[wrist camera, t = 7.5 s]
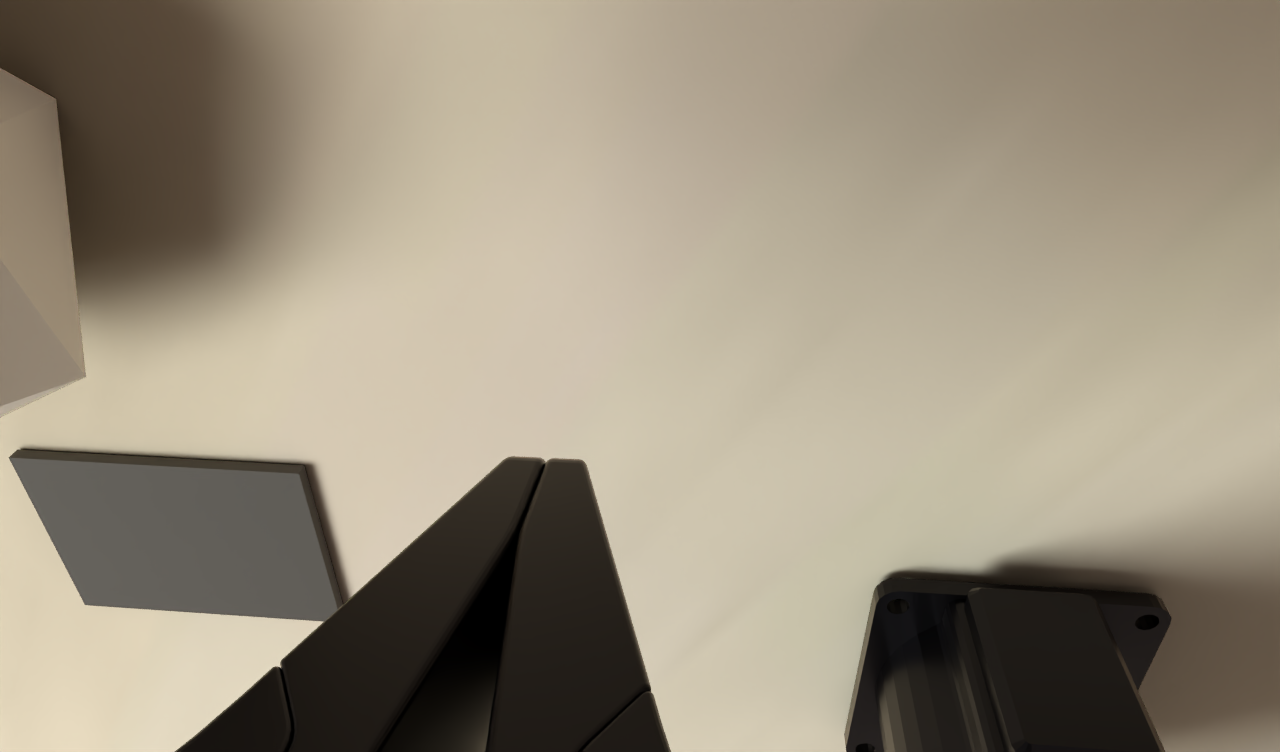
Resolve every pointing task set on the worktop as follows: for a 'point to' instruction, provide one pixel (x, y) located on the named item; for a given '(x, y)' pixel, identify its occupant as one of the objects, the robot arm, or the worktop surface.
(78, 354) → the die
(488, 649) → the robot arm
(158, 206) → the worktop surface
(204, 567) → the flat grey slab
